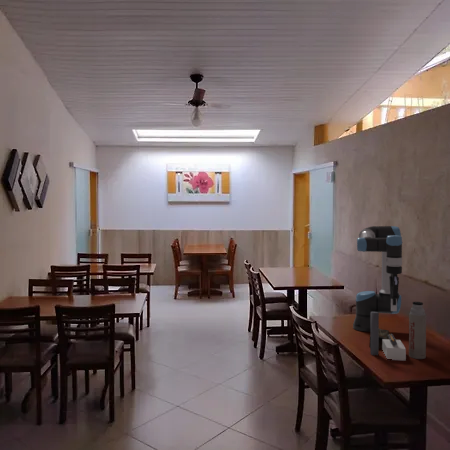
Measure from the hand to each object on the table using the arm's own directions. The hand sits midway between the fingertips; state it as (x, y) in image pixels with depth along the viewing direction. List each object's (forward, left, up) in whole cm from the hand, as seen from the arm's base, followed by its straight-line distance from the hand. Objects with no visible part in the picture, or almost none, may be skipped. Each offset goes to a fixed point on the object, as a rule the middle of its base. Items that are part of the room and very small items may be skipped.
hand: (393, 310), depth 232 cm
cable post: (0, -10, -23) cm, 25 cm away
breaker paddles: (0, 0, -17) cm, 17 cm away
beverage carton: (-19, -4, -24) cm, 31 cm away
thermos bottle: (0, +11, -23) cm, 26 cm away
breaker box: (0, 0, -23) cm, 23 cm away
